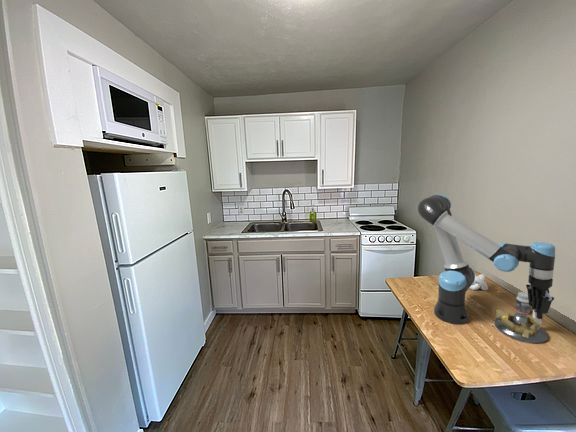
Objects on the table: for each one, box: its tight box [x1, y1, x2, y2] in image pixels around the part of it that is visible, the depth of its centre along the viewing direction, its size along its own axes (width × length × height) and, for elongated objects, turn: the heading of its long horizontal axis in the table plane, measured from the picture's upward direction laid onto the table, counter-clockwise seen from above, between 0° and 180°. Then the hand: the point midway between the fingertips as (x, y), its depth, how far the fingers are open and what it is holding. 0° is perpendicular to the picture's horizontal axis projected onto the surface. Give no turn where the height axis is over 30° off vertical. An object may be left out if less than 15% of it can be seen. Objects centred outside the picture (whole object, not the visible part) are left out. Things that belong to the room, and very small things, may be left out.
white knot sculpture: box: [468, 273, 489, 291], centre depth 151 cm, size 11×12×9 cm
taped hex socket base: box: [495, 308, 541, 338], centre depth 113 cm, size 15×16×4 cm
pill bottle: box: [514, 291, 532, 315], centre depth 126 cm, size 6×6×10 cm
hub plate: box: [493, 316, 548, 345], centre depth 114 cm, size 18×18×2 cm
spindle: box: [513, 312, 528, 326], centre depth 113 cm, size 5×5×8 cm
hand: (536, 323), depth 113 cm, fingers closed
